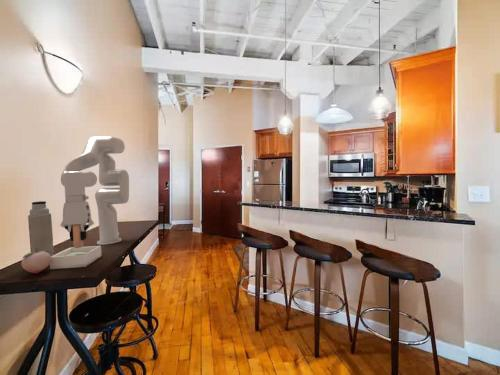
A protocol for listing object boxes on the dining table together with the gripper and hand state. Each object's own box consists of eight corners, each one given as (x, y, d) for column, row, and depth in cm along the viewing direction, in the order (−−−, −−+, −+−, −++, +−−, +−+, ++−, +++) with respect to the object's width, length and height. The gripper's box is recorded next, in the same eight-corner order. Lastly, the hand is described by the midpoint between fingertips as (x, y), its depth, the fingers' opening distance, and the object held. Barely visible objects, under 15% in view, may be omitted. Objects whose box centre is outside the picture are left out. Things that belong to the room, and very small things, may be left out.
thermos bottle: (28, 268, 111) (23, 203, 110) (35, 263, 119) (30, 201, 117) (51, 265, 114) (46, 201, 113) (56, 260, 122) (52, 200, 120)
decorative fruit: (35, 278, 100) (33, 252, 100) (18, 277, 102) (15, 252, 101) (57, 269, 109) (56, 245, 109) (41, 268, 111) (39, 245, 110)
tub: (70, 258, 125) (69, 247, 125) (101, 256, 126) (100, 245, 126) (50, 269, 110) (49, 257, 110) (85, 266, 111) (84, 255, 111)
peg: (76, 246, 119) (75, 224, 119) (85, 245, 120) (83, 223, 119) (72, 248, 116) (70, 225, 115) (80, 247, 116) (79, 225, 116)
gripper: (99, 197, 122) (101, 237, 122) (60, 199, 120) (63, 239, 121) (91, 199, 114) (93, 241, 115) (50, 200, 112) (53, 243, 113)
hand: (78, 239), depth 118 cm, fingers closed on peg, 3 cm apart
